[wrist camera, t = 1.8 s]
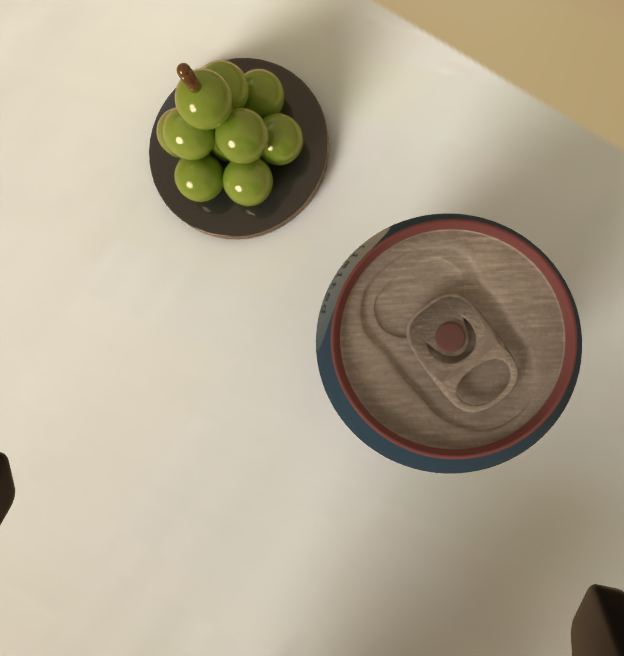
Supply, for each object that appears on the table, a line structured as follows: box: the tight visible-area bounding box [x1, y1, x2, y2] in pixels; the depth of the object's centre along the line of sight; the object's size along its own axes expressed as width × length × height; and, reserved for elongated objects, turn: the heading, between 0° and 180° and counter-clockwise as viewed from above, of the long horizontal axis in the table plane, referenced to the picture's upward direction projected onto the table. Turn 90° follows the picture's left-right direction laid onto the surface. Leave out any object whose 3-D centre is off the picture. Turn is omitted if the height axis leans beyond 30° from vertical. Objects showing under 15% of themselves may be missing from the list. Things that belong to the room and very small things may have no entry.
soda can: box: [316, 214, 582, 473], centre depth 20 cm, size 7×7×12 cm
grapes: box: [149, 58, 329, 239], centre depth 24 cm, size 8×8×8 cm
